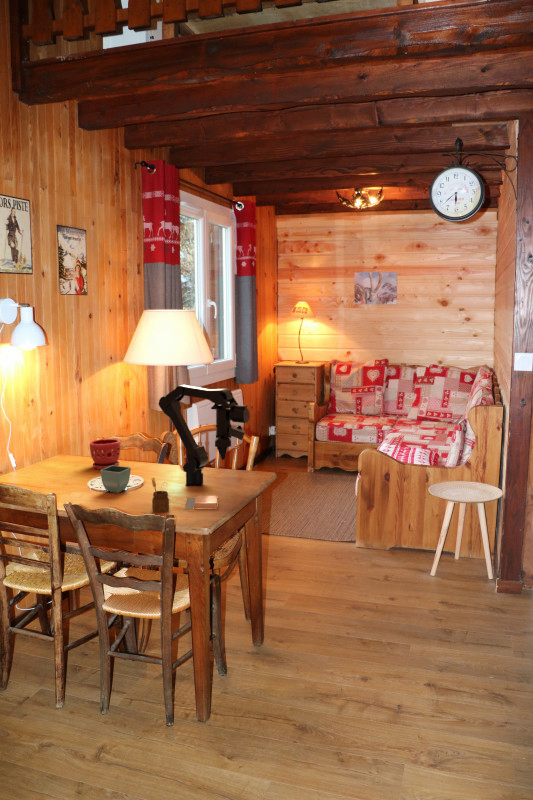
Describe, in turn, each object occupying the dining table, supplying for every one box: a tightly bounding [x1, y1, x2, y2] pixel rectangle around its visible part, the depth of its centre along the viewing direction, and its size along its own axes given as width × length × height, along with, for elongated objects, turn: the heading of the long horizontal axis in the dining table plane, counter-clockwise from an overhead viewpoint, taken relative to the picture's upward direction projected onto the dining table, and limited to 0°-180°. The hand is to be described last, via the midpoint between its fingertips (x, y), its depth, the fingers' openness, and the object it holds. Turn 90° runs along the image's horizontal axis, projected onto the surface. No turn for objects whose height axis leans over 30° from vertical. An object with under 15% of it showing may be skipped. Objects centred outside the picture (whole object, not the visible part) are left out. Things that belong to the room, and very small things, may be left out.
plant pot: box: [89, 438, 121, 470], centre depth 297 cm, size 13×13×12 cm
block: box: [194, 495, 218, 508], centre depth 244 cm, size 8×2×9 cm
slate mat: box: [184, 497, 196, 511], centre depth 246 cm, size 12×14×1 cm
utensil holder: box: [151, 478, 170, 514], centre depth 237 cm, size 6×6×12 cm
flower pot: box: [99, 465, 132, 494], centre depth 261 cm, size 9×9×9 cm
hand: (223, 459), depth 264 cm, fingers closed
